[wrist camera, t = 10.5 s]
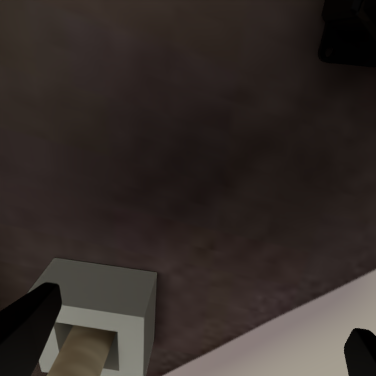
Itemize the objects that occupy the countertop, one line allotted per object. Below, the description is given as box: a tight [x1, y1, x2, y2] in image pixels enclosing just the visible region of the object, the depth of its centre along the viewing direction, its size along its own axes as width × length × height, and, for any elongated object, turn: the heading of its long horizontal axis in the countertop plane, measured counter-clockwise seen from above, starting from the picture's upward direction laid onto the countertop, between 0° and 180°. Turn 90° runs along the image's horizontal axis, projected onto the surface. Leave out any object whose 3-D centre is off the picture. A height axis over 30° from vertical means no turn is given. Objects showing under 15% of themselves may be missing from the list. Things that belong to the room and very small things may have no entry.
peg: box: [47, 325, 116, 376], centre depth 23 cm, size 4×4×9 cm
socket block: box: [28, 258, 157, 376], centre depth 25 cm, size 9×9×4 cm
